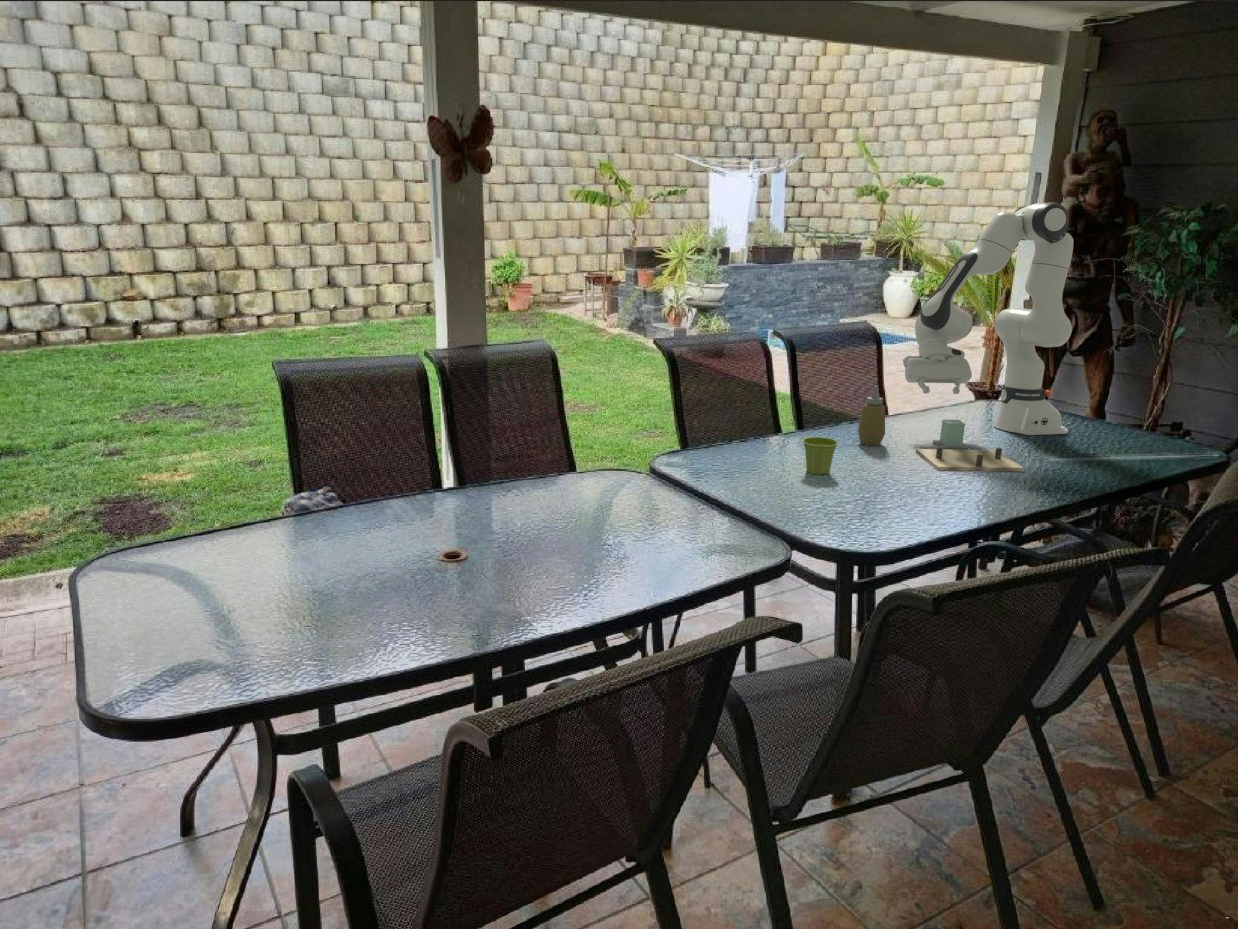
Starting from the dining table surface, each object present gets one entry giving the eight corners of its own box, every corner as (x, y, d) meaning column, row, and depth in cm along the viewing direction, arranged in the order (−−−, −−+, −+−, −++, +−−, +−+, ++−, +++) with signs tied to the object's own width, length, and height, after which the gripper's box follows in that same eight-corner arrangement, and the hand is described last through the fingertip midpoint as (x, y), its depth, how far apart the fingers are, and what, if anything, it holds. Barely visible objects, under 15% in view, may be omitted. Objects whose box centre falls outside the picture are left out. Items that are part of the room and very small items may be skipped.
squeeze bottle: (887, 447, 261) (893, 389, 256) (860, 447, 261) (866, 388, 256) (879, 440, 269) (885, 383, 263) (853, 440, 269) (859, 383, 263)
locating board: (996, 453, 256) (997, 440, 255) (1023, 471, 239) (1025, 457, 238) (915, 452, 256) (917, 439, 255) (937, 470, 239) (939, 456, 238)
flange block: (958, 443, 267) (961, 418, 265) (968, 450, 259) (972, 425, 257) (932, 443, 267) (935, 418, 265) (942, 450, 259) (945, 424, 257)
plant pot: (795, 473, 234) (798, 442, 231) (805, 464, 242) (808, 435, 239) (830, 479, 230) (833, 447, 227) (839, 470, 238) (841, 439, 235)
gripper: (905, 350, 274) (911, 386, 268) (969, 351, 274) (977, 387, 268) (899, 361, 280) (905, 397, 273) (962, 362, 280) (969, 398, 273)
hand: (941, 392), depth 270 cm, fingers open, 8 cm apart
